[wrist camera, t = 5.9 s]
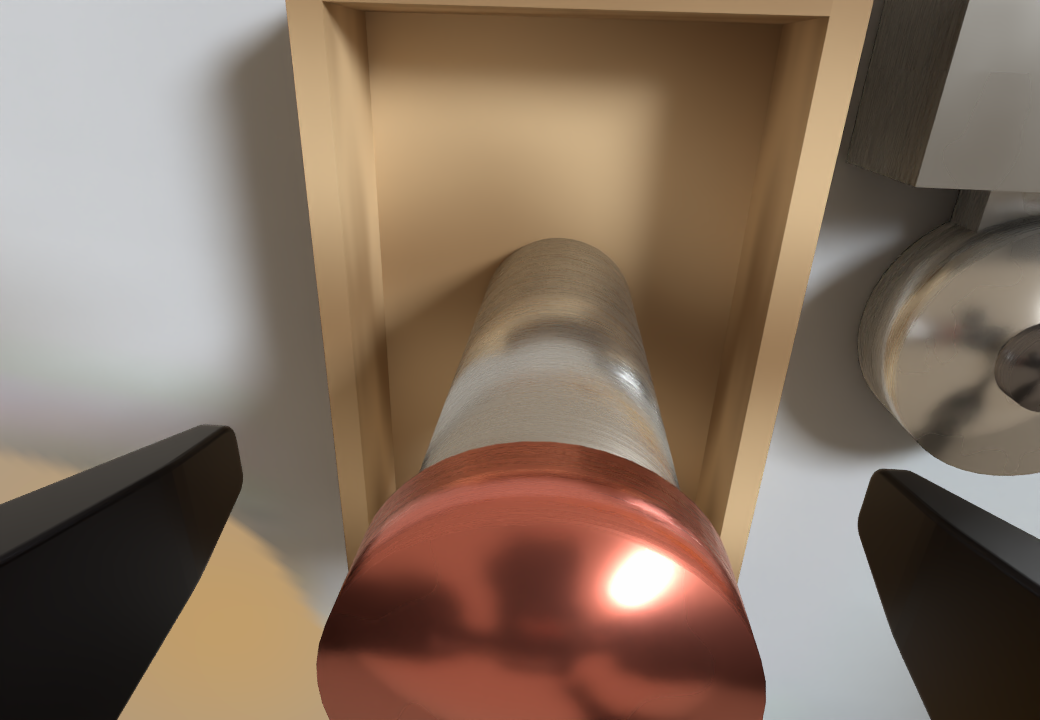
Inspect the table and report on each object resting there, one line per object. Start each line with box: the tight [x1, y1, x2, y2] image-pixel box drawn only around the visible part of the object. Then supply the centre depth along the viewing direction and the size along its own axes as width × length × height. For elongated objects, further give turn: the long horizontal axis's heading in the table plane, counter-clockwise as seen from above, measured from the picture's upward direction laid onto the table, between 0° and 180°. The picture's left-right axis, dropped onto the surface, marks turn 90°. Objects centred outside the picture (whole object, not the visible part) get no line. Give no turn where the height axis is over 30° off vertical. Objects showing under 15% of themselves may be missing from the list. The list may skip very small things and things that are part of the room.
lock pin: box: [317, 238, 766, 720], centre depth 10 cm, size 4×4×10 cm
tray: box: [285, 0, 874, 582], centre depth 14 cm, size 13×9×3 cm
